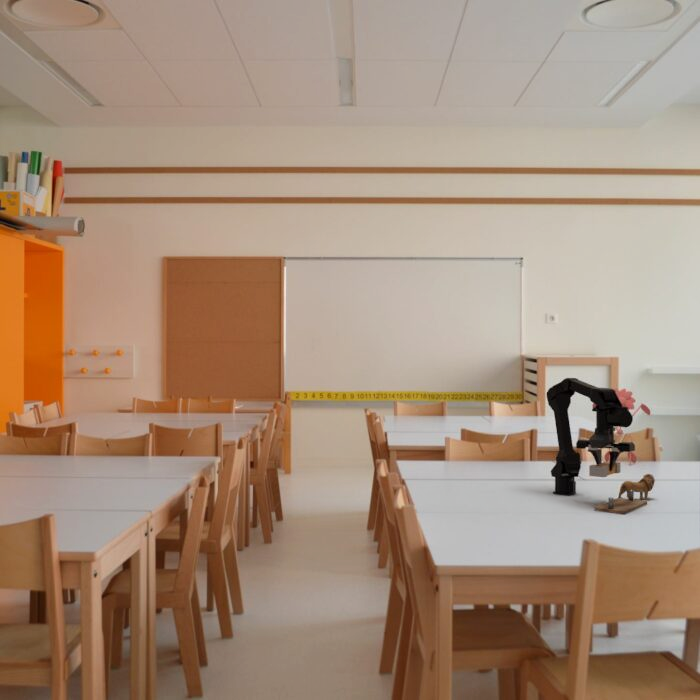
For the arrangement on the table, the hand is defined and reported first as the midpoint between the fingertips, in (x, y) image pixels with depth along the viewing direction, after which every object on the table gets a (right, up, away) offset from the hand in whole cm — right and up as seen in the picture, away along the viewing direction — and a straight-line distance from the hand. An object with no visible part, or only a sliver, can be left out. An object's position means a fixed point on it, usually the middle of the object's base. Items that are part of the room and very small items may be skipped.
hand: (605, 470), depth 270 cm
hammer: (0, -1, 0) cm, 1 cm away
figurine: (+39, -12, +98) cm, 107 cm away
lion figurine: (+14, -12, +10) cm, 21 cm away
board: (+4, -12, -4) cm, 13 cm away
